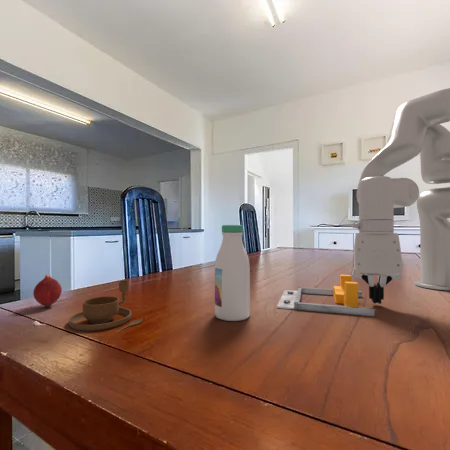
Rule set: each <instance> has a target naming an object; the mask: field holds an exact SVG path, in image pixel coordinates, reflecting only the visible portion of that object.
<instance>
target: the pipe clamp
mask: <svg viewBox="0 0 450 450" xmlns="http://www.w3.org/2000/svg"><path fill="white" fill-rule="evenodd" d="M339 276H340V277H339V281H340V283H339V285H333V288H332V289H333V295H332V296H333V299H335V300H334V302H335V304H340V305H341V304H342V305H343V306H351V307H359V297H358V291H359V283H358V282H357V281H352V280H353V279H352V274H339Z"/></svg>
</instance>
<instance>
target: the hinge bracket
mask: <svg viewBox="0 0 450 450" xmlns="http://www.w3.org/2000/svg"><path fill="white" fill-rule="evenodd" d="M302 294H308V295H309V294H310V295H322V296H323V295H324V296H333V288H320V287H319V288H317V287H316V288H315V287H304V286H303V287H302V286H301V287H300V286H298V287H297V290H292V289H284V290H283V292H282V294H281V297H280V299H279V300H278V303H277V305H276V309H282V310H283V309H286V310H296V311H297V310H298V311H308V312H318V313H329V314H330V313H332V314H343V315H354V316H363V317H364V316H365V317H375V308H373V307H364V306H363V307H362V306H361V307H359V306H358V307H351V306H344V305H338V304H337V305H335V304H327V303H326V304H325V303H324V304H323V303H312V302H301V298H302ZM358 298H363V292H362V290H358Z"/></svg>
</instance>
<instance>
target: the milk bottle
mask: <svg viewBox="0 0 450 450" xmlns="http://www.w3.org/2000/svg"><path fill="white" fill-rule="evenodd" d="M243 227H244V226H243V225H242V224H222V225H221V235H222V241H221V244H220V247H219V250H218V252H217V254H216V256H215V257H216V258H215V263H214V264H215V265H214V316H215V317H216V318H217V319H219V320H220V321H221V320H222V321H226V322H238V321H245V320H247V319H249V316H250V315H251V272H250V271H251V270H250V258H249V256H248V252H247V251H246V249H245V247H244V246H245V245H244V242H243V238H242V237H243V235H244V234H243V232H244V228H243Z"/></svg>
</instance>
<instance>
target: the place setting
mask: <svg viewBox="0 0 450 450" xmlns="http://www.w3.org/2000/svg"><path fill="white" fill-rule="evenodd" d="M129 284H130V281H129V280H119V281H118V290H119V292H120V293H121V295H122V296H121V300H122V301H121V303H123V304H124V303H127V301H126V299H127V296H126V293H127V292H128V291H129V288H130V287H129ZM117 315H123V316H125V317H123V318H120V319H117V320H114V321H112V319H113V318H114V317H116V316H117ZM131 317H132V311H131V309H129V308H127V307H120V298H118V297H117V296H109V295H105V296H96V297H91V298H88V299H84V300H83V302H82V311H79V312H77V313H75V314H73V315H71V316H70V317H69V319H68V324H69V327H71V328H72V329H73V330H76V331H82V332H95V331H104V330H109V329H113V328H116V327H120V326H122V325H124V324H126V323H127V322H129V320H130V319H131ZM81 319H86V320H88V321H90V323H91V324H79V323H77V322H79V320H81ZM110 321H111V322H110ZM142 321H143V318H138V319H134V320H132V321H130V322H129V323H128V324H127V325H126V326H124V327H121V328H119V329H117V330H116V331H115V333H119V332H121V331H123V330H125V329H127V328H129V327H134V326H137V325H140V324H141V323H142Z"/></svg>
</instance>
